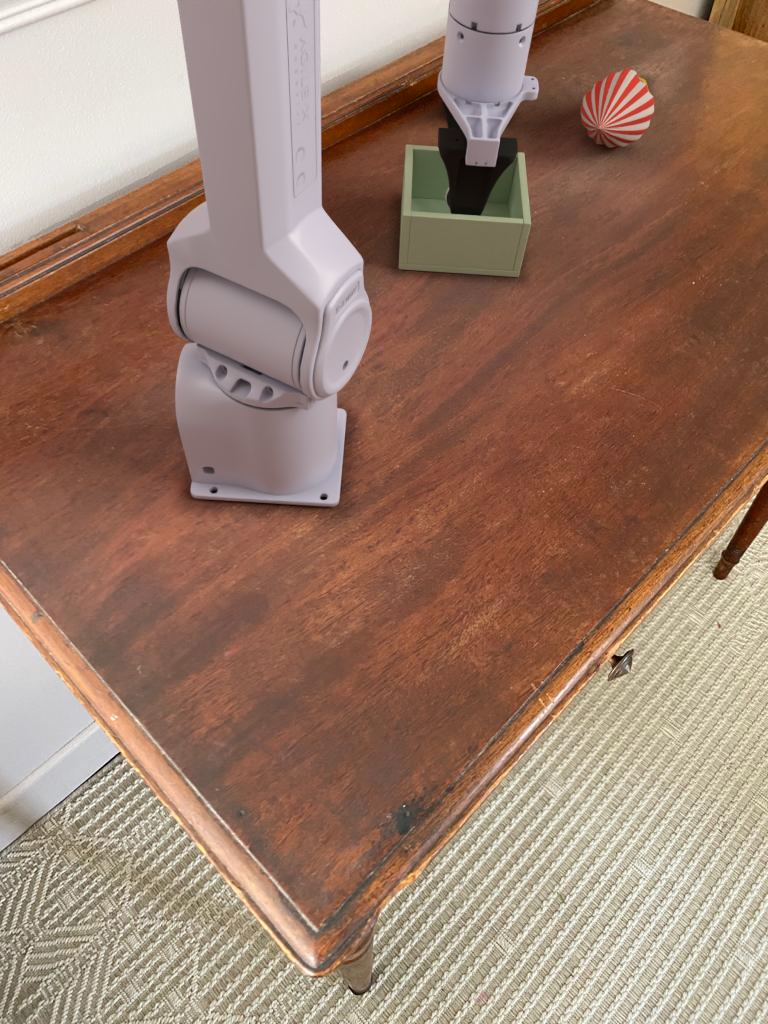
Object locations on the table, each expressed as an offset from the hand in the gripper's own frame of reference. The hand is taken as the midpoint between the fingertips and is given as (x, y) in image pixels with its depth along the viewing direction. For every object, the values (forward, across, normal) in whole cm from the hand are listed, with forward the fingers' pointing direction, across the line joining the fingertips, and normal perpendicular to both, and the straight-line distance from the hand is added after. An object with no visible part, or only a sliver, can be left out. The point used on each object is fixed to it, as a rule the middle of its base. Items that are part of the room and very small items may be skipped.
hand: (464, 195), depth 63 cm
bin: (+4, 0, 0) cm, 4 cm away
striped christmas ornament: (+4, +18, -16) cm, 24 cm away
